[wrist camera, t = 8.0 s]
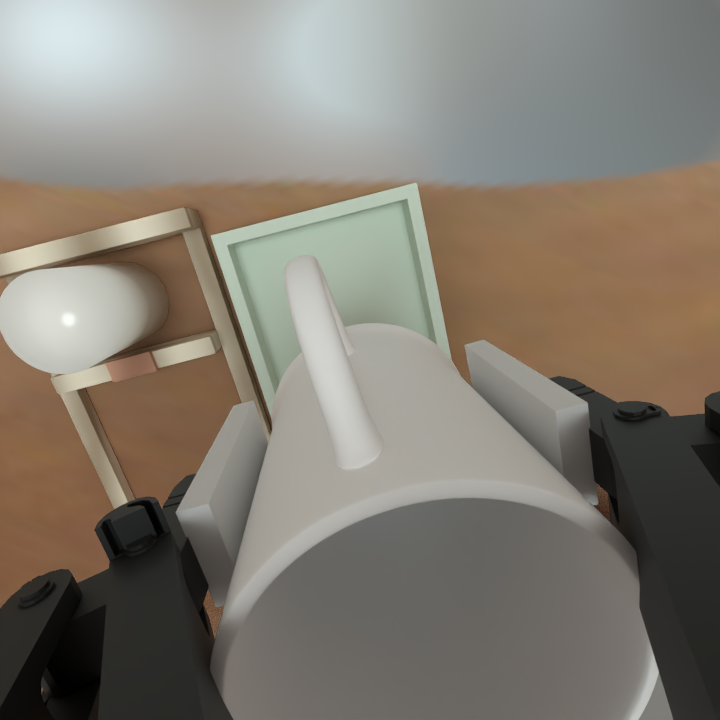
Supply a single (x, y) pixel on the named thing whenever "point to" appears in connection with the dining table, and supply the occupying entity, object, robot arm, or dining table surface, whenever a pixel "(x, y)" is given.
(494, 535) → the mug
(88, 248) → the caddy
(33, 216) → the dining table surface
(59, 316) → the white capsule
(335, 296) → the tray
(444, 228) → the dining table surface
